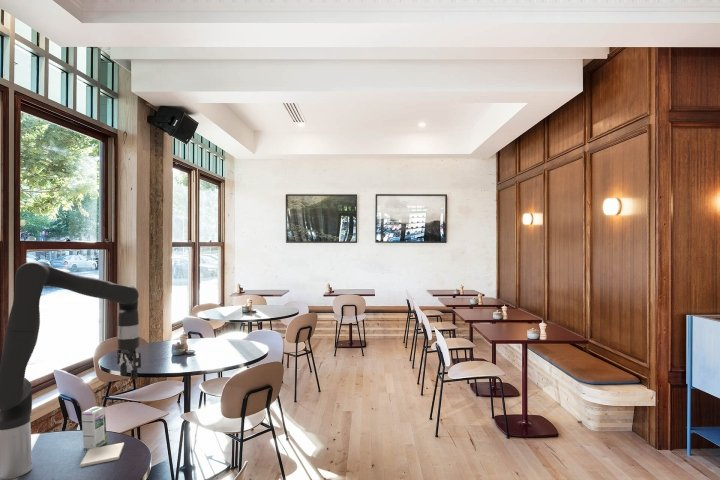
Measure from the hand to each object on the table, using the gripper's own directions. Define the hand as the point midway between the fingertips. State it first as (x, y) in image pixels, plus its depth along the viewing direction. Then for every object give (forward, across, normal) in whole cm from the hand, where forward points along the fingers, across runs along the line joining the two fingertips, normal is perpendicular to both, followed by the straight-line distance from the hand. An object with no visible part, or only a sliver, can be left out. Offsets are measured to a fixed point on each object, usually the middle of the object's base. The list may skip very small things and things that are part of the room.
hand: (128, 377), depth 163 cm
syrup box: (+28, -13, -7) cm, 31 cm away
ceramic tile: (+27, -1, -9) cm, 29 cm away
